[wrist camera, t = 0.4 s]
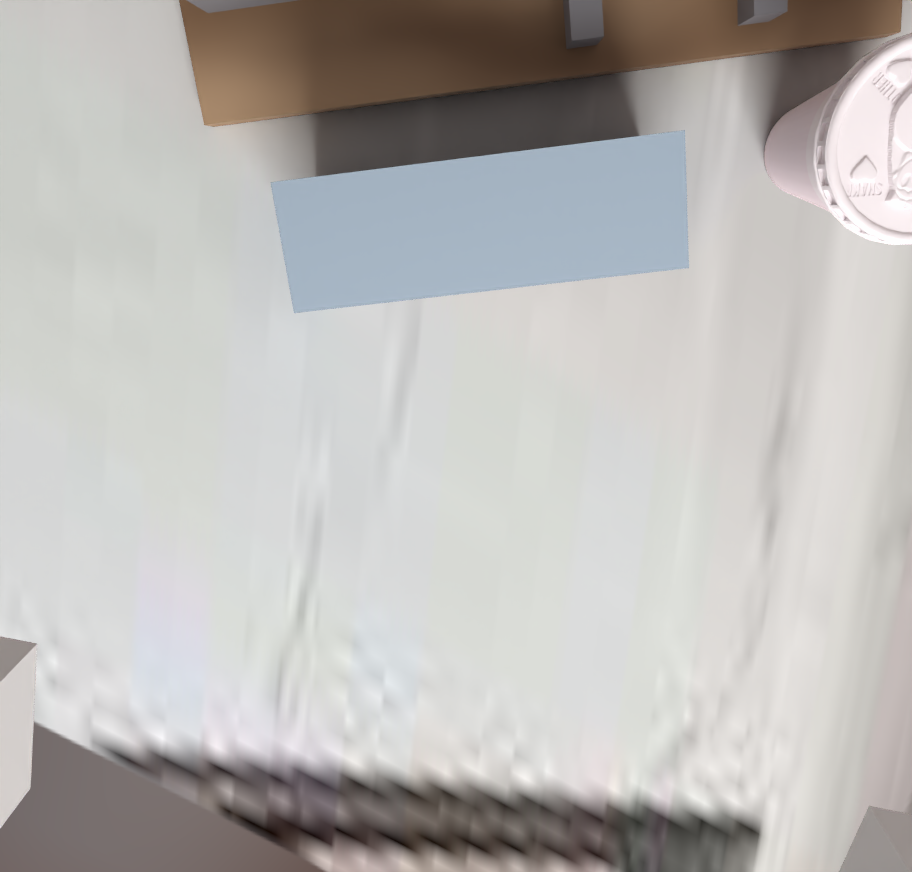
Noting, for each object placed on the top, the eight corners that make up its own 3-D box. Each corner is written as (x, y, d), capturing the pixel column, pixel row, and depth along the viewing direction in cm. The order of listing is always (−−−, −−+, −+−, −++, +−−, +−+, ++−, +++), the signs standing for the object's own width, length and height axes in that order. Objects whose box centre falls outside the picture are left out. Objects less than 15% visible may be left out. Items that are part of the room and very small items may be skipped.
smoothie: (914, 99, 33) (1208, 45, 20) (842, 249, 35) (1064, 293, 21) (772, 44, 32) (973, -48, 19) (706, 200, 34) (848, 214, 21)
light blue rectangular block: (333, 284, 36) (294, 313, 29) (317, 181, 35) (270, 182, 27) (644, 248, 35) (688, 267, 28) (639, 141, 34) (684, 130, 26)
